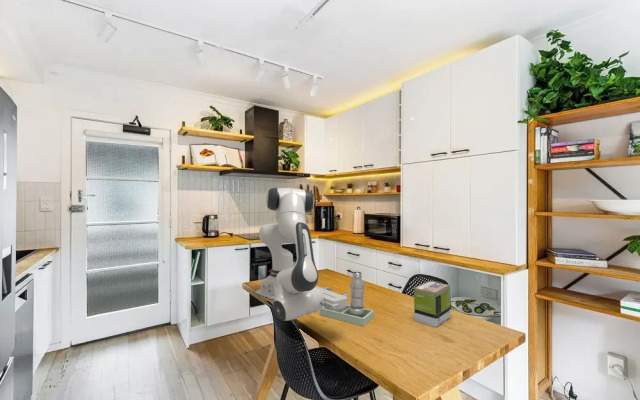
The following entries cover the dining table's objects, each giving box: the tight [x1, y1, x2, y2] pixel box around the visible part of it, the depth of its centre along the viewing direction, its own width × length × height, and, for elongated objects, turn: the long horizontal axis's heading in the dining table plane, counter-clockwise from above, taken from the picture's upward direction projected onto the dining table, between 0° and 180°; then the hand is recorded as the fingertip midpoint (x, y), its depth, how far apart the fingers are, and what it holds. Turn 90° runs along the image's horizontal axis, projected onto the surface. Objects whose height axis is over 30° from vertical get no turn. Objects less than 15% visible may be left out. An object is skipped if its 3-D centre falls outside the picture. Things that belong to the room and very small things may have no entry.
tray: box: [319, 304, 375, 327], centre depth 132 cm, size 21×11×3 cm, turn 57°
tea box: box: [413, 281, 451, 328], centre depth 130 cm, size 15×10×15 cm, turn 134°
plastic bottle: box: [349, 271, 366, 318], centre depth 130 cm, size 6×7×20 cm
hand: (338, 292), depth 122 cm, fingers open, 8 cm apart
